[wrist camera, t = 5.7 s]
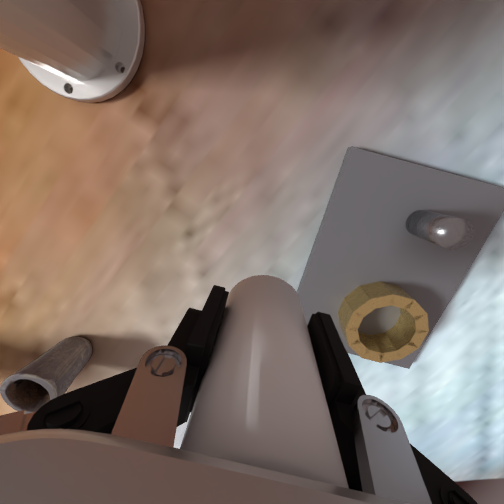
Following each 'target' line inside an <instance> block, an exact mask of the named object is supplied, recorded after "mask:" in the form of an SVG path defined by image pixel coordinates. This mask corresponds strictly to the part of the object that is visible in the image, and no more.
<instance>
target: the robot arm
mask: <svg viewBox="0 0 504 504" xmlns="http://www.w3.org/2000/svg"><path fill="white" fill-rule="evenodd" d="M144 42H145V23H144V16H143V9H142V5H141V1H140V0H0V48H1V49H3V50H5V51H7V52H9V53H11V54H14V55H16V56H18V58H19V59H20V61H21V62H22V64H23V65H24V66H25V67H26V69H27V70H28V71H29V72H30V74H31V75H32V76H34V77H35V78H36V79H37V80H38V81H39V82H40V83H41V84H42V85H44V86H45V87H47V88H48V89H50V90H51V91H53V92H55V93H57V94H59V95H62V96H64V97H66V98H69V99H72V100H75V101H78V102H87V103H93V102H101V101H104V100H107V99H110V98H112V97H114V96H115V95H117V94H118V93H120V92H121V91H122V90H123V89H124V88H125V87H126V86H127V85H128V84H129V83H130V82H131V80H132V78H133V77H134V75H135V73H136V71H137V70H138V67H139V64H140V61H141V58H142V54H143V48H144ZM124 69H125V70H124ZM123 71H124V72H123ZM228 294H229V292H227V291H225V288H224V287H220V286H216V285H214V286H213V288H212V290H211V293H210V295H209V297H208V299H207V301H206V303H205V305H204V308H203V310H202V311H200V310H196V309H192V308H189V309H188V310H187V312H186V314H185V316H184V317H183V319H182V321H181V323H180V324H179V326H178V328H177V330H176V331H175V333H174V335H173V337H172V338H171V340H170V342H169V344H168V346H158V347H154V348H152V349H150V350H148V351H147V352H146V353H145V354H144V355H143V357H142V358H141V360H140V362H139V365H138V367H137V368H135V369H132V370H129V371H126V372H124V373H121V374H118V375H115V376H113V377H110V378H107V379H104V380H102V381H99V382H96V383H93V384H91V385H88V386H85V387H82V388H79V389H77V390H74V391H71V392H68V393H66V394H63V395H60V396H58V397H56V398H54V399H52V400H50V401H49V402H47V403H46V404H44V405H43V406H42V407H40V408H39V410H38V411H36V412H32V413H28V414H25V410H22V411H18V412H14V413H10V414H5V415H1V416H0V504H477V502H476V501H475V500H474V499H473V498H472V497H471V496H470V495H469V494H468V493H466V492H465V491H464V490H463V489H462V488H461V487H460V486H459V485H457V484H456V483H455V482H454V481H453V480H452V479H450V478H449V477H448V476H447V475H446V474H445V473H443V472H442V471H441V470H440V469H439V468H438V467H437V466H435V465H434V464H433V463H432V462H431V461H430V460H428V459H427V458H426V457H425V456H424V455H423V454H422V453H420V452H419V451H418V450H417V449H416V448H415V447H413V446H412V445H411V444H410V443H409V440H408V438H407V435H406V432H405V430H404V427H403V424H402V422H401V420H400V418H399V417H398V415H397V414H396V413H395V411H394V410H393V409H392V408H391V407H390V406H389V405H388V404H386V403H385V402H383V401H382V400H380V399H378V398H376V397H374V396H371V395H366V394H365V391H364V389H363V387H362V385H361V382H360V380H359V378H358V375H357V373H356V371H355V369H354V366H353V364H352V362H351V360H350V357H349V355H348V353H347V351H346V349H345V347H344V345H343V343H342V341H341V338H340V336H339V334H338V331H337V329H336V327H335V325H334V322H333V320H332V318H331V316H330V315H329V314H326V313H322V312H317V313H316V314H312V315H311V318H310V320H309V323H308V325H307V328H308V332H309V335H310V339H311V343H312V347H313V351H314V355H315V359H316V363H317V366H318V370H319V374H320V378H321V382H322V386H323V390H324V394H325V398H326V401H327V405H328V409H329V413H330V417H331V421H332V425H333V429H334V433H335V436H336V440H337V444H338V448H339V452H340V456H341V460H342V464H343V467H344V471H345V475H346V479H347V483H348V487H349V489H348V488H344V487H340V486H336V485H332V484H327V483H323V482H319V481H315V480H311V479H306V478H302V477H298V476H294V475H289V474H285V473H281V472H277V471H273V470H268V469H264V468H260V467H256V466H251V465H247V464H243V463H238V462H234V461H230V460H225V459H221V458H217V457H212V456H208V455H204V454H199V453H195V452H191V451H186V450H182V449H178V448H173V446H174V439H175V433H176V427H178V426H179V425H181V424H183V423H185V422H187V420H188V417H189V414H190V412H192V409H193V406H194V403H195V399H196V396H197V393H198V390H199V387H200V384H201V381H202V378H203V376H204V374H205V372H206V368H207V365H208V362H209V359H210V355H211V352H212V349H213V346H214V342H215V339H216V336H217V332H218V329H219V326H220V323H221V319H222V316H223V313H224V310H225V306H226V302H227V298H228Z"/></svg>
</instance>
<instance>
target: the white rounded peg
mask: <svg viewBox="0 0 504 504" xmlns="http://www.w3.org/2000/svg"><path fill="white" fill-rule="evenodd" d="M180 449H182V450H186V451H191V452H195V453H199V454H204V455H208V456H212V457H217V458H221V459H225V460H230V461H234V462H238V463H243V464H247V465H251V466H256V467H260V468H264V469H268V470H273V471H277V472H281V473H285V474H289V475H294V476H298V477H302V478H306V479H311V480H315V481H319V482H323V483H327V484H332V485H336V486H340V487H344V488H348V489H349V487H348V483H347V479H346V475H345V471H344V467H343V464H342V460H341V456H340V452H339V448H338V444H337V440H336V436H335V433H334V429H333V425H332V421H331V417H330V413H329V409H328V405H327V401H326V398H325V394H324V390H323V386H322V382H321V378H320V374H319V370H318V366H317V363H316V359H315V355H314V351H313V347H312V343H311V339H310V335H309V332H308V328H307V324H306V320H305V316H304V312H303V308H302V304H301V301H300V298H299V296H298V294H297V292H296V291H295V289H294V288H293V287H292V286H291V285H289V284H288V283H287V282H285V281H284V280H282V279H279V278H277V277H273V276H268V275H258V276H252V277H249V278H247V279H244V280H242V281H241V282H239V283H238V284H237V285H235V287H234V288H233V289H232V290H231V292H230V293H229V295H228V298H227V302H226V306H225V310H224V313H223V316H222V319H221V323H220V326H219V329H218V332H217V336H216V339H215V342H214V346H213V349H212V352H211V355H210V359H209V362H208V365H207V368H206V372H205V374H204V376H203V378H202V381H201V384H200V387H199V390H198V393H197V396H196V399H195V403H194V406H193V409H192V412H191V415H190V419H189V422H188V425H187V428H186V431H185V434H184V438H183V441H182V444H181V447H180Z"/></svg>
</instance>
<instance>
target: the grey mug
mask: <svg viewBox="0 0 504 504" xmlns="http://www.w3.org/2000/svg"><path fill="white" fill-rule="evenodd" d="M91 355H92V345H91V343H90V342H89V341H88V340H87V339H85V338H82V337H70V338H66V339H64V340H62V341H61V342H59V343H58V344H57V345H55V346H54V347H53V348H51V349H50V350H48V351H47V352H46V353H44V354H43V355H42V356H40V357H39V358H37V359H36V360H34V361H33V362H31V363H30V364H28V365H27V366H25V367H24V368H22V369H21V370H19V371H18V372H16V373H15V374H13V375H11V376H9V377H7V378H6V379H5V380H4V381H3V382H2V384H1V386H0V393H1V395H2V398H3V399H4V401H5V402H6V403H7V404H8V405H9V406H11V407H12V408H13V409H14V410H17V411H22V410H25V414H28V413H32V412H36V411H38V410H39V408H40V407H42V406H43V405H44V404H46V403H47V402H49V401H50V400H52V399H54V398H56V397H58V396H60V395H63V394H64V393H65V392H66V390H67V389H68V387H69V386H70V384H71V383H72V381H73V380H74V379H75V377H76V376H77V375H78V373H79V372H80V371H81V369H82V368H83V367H84V365H85V364H86V363H87V361H88V360H89V359H90V357H91Z"/></svg>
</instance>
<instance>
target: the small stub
mask: <svg viewBox="0 0 504 504" xmlns="http://www.w3.org/2000/svg"><path fill="white" fill-rule="evenodd" d="M406 229H407V231H408V232H409V233H410V234H412V235H415V236H417V237H419V238H422V239H424V240H426V241H429V242H431V243H433V244H436V245H438V246H440V247H443V248H445V249H448V250H458V249H461V248H463V247H464V246H466V245H467V244H468V243H469V242H470V241H471V239H472V238H473V235H474V227H473V225H472V223H471V222H470V221H468V220H466V219H462V218H457V217H453V216H449V215H445V214H440V213H436V212H432V211H427V210H417V211H415V212H413V213H412V214H410V215H409V217H408V218H407V220H406Z"/></svg>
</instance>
